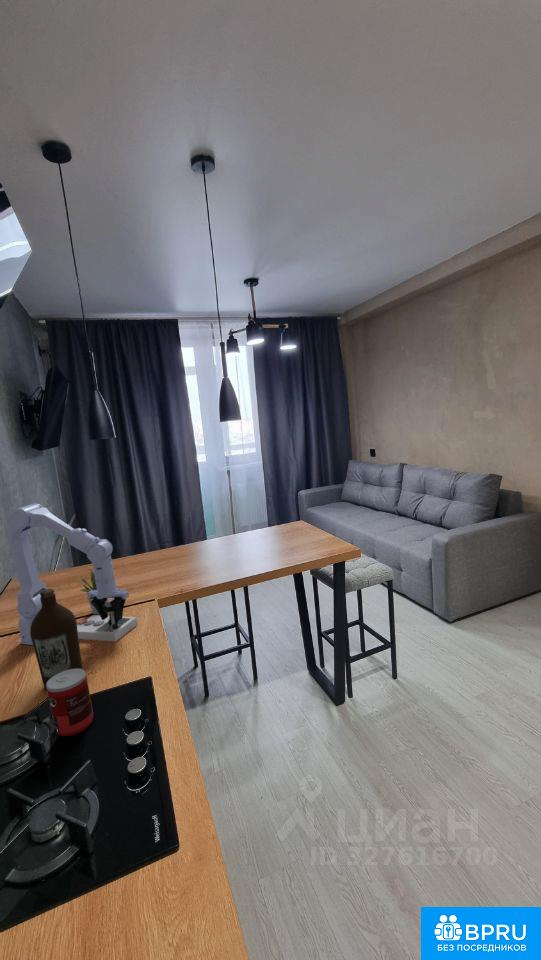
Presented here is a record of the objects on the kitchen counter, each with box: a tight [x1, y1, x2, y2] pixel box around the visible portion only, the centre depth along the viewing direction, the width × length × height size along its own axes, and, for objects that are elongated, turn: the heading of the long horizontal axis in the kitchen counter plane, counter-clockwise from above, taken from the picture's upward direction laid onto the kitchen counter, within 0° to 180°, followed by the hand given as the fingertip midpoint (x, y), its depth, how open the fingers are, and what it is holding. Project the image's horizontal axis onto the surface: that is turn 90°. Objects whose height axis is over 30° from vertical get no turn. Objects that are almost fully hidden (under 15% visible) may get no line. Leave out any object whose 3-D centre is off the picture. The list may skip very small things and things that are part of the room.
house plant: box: [76, 567, 116, 615], centre depth 153 cm, size 14×14×16 cm
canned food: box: [46, 668, 94, 737], centre depth 92 cm, size 8×8×11 cm
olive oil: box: [30, 588, 84, 692], centre depth 108 cm, size 11×11×25 cm
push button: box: [102, 598, 120, 632], centre depth 135 cm, size 7×5×10 cm
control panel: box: [77, 614, 138, 642], centre depth 137 cm, size 18×11×3 cm, turn 71°
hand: (112, 618), depth 135 cm, fingers closed on push button, 5 cm apart
